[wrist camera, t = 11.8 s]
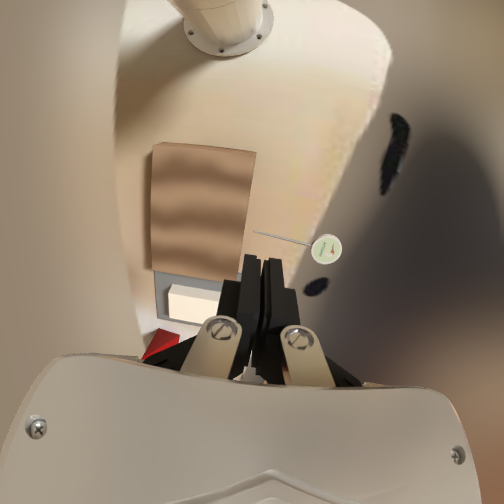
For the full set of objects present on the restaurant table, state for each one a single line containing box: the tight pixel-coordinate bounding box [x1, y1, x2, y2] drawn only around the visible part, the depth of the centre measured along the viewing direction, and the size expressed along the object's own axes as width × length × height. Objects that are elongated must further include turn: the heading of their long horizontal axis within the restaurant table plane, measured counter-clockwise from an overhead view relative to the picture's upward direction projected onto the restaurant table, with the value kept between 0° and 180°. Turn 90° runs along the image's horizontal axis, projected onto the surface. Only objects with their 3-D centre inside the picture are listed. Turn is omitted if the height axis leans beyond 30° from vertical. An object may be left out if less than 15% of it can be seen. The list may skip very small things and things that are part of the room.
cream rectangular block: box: [168, 284, 221, 324], centre depth 49 cm, size 6×9×3 cm, turn 81°
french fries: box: [142, 328, 180, 360], centre depth 49 cm, size 9×8×15 cm
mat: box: [154, 271, 242, 326], centre depth 50 cm, size 14×16×1 cm
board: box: [151, 142, 256, 282], centre depth 40 cm, size 20×14×4 cm
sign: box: [253, 231, 342, 264], centre depth 44 cm, size 5×1×15 cm
